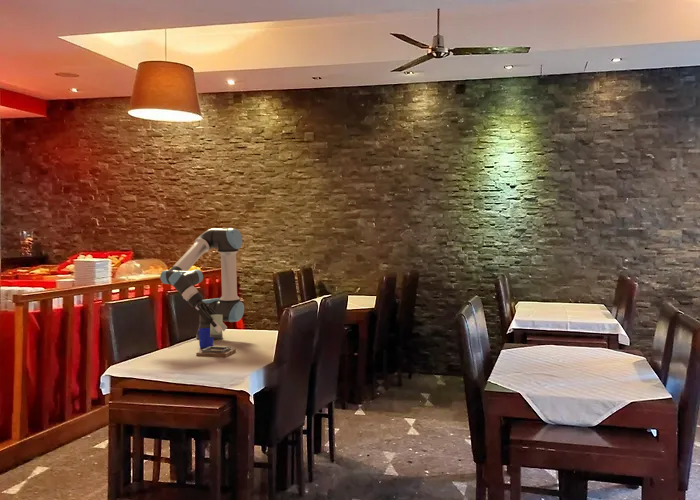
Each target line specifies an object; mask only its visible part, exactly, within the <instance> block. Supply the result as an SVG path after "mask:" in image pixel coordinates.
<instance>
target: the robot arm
mask: <svg viewBox="0 0 700 500" xmlns="http://www.w3.org/2000/svg"><path fill="white" fill-rule="evenodd" d="M242 245H243V236H242V233H241V232H240V231H239V230H238V229H237V228H235V227H234V228H232V227H223V228H222V227H213V228H210V229H207V230H205V231H204V232H203V233H201V234H199V235H198V236H197V237H196V238H195V240H194V242H193V244H192V245H191V246H190V247H189V248H188V250H187V251H186V252H185V253H184V254H183V255H182V256H181V257H180V258H179V259H178V260H177V261H176V262H175V264H173V265H172V267H170V269H165V270H162V272H161V273H160V277H159V278H160V282H161V283H162V284H164V285H171V286H172V287H173V288H174V289H175V290H176V291H177V292H178V293H179V294H180V295H181V296H182V299H183V300H185V301H186V302H187V303H188V304H189V305H190V307H191V308H194V310H195V311H196V312H197V313H198V314H199V325H198V329H197V331H196V339H197V340H199V329H201V328H210V324H211V325H212V326H213V327H214V329H215V330H216V331H217V332H218V333H220V332H221V331H222V332H225V331H226V330H227V329H228V326H227V325H226V324H225V323H224V322H230V323H234V322H235V323H236V322H239V321H241V319H242V318H243V316H244V313H245V305H244V303H243V302H242V301H241V300H240V299H241V298H240V297H239V296H238V283H237V282H238V280H237V279H238V277H237V253H239V249H241V248H242ZM211 249H217V253H219V255H220V267H221V269H220V271H221V273H220V274H221V276H220V277H221V278H220V279H221V296H220V297H217V298H215V297H214V298H209V299H208V298H207V299H204V296H203V295H202V294H201V293H200V292H199V290H198V289H197V287H195V285H199V283H201V282H203V280H204V275H203V272H202V271H201V270H199V269H192V270H190V269H191V268H192V267H193V266H194V264H196V262H198V260H199V259H200V258H201V257H202V256H203V255H204V254H205V253H208V252H209V251H210V250H211ZM212 314H221V315H223V322H222V328H221V327H220V325H219V324H218V323H217V322H216V321H215V320H213V319H212V317H211V316H210V315H212ZM223 337H224V335H223V333H222V337H219V338H213V341H214V340H220V339H223Z"/></svg>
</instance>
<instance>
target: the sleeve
mask: <svg viewBox="0 0 700 500" xmlns="http://www.w3.org/2000/svg"><path fill="white" fill-rule="evenodd" d="M210 316H211V317H212V319H213V320H215V321H216V322H217V323H218V324H219V325H220V327H221V328H222V322H223V323H224V321H223V315H221V314H212V315H210ZM222 334H223V330H222V331H221V332H220V333H218V332H217V331H216V330H215V329H214V327H213V326H212V325H211V324H210V337H213V338H219V337H222Z"/></svg>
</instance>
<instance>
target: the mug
mask: <svg viewBox="0 0 700 500" xmlns="http://www.w3.org/2000/svg"><path fill="white" fill-rule="evenodd" d="M198 341H199V342H198V344H199V348H200V349H205V348H208V347H210V346H213V347H214V340H213V337H210V328H201V329H199V339H198Z"/></svg>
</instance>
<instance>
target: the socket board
mask: <svg viewBox="0 0 700 500" xmlns="http://www.w3.org/2000/svg"><path fill="white" fill-rule="evenodd" d="M236 350H237V349H236V348H232V347H230V346H214V345H213V346H210V347H208V348H205V349H204V348H202V349H201V350H200V351H197V352H195V353H196V357H214V358H216V357H217V358H226V357H228V356H229V357H230V356H231V355H233V354H235V353H236V352H237V351H236Z"/></svg>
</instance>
